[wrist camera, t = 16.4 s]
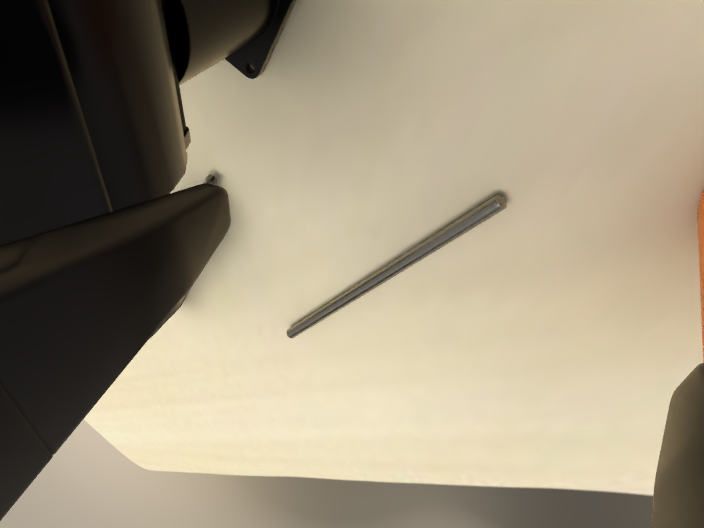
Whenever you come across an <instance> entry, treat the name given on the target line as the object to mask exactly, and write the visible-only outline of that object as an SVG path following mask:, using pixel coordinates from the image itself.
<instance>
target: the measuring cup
mask: <svg viewBox="0 0 704 528" xmlns="http://www.w3.org/2000/svg"><path fill="white" fill-rule="evenodd" d="M698 239H699V265H700V290H701V316H702V342H703V363H704V191H703V193H702V196H701V199H700V201H699V206H698Z"/></svg>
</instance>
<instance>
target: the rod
mask: <svg viewBox="0 0 704 528" xmlns="http://www.w3.org/2000/svg"><path fill="white" fill-rule="evenodd" d="M506 207H507V204H506V201H505V199H504V198H503V197H502V196H501V195H496V196H494V197H493V198H491V199H489V200H488V201H486V202H485V203H483V204H482V205H480V206H478V207H477V208H475V209H474V210H472V211H471V212H469V213H468V214H466V215H465V216H463V217H461V218H460V219H458V220H457V221H455V222H454V223H452V224H451V225H449V226H447V227H446V228H444V229H443V230H441V231H440V232H438V233H437V234H435V235H433V236H432V237H430V238H429V239H427V240H426V241H424V242H423V243H421V244H420V245H418V246H416V247H415V248H413V249H412V250H410V251H409V252H407V253H406V254H404V255H402V256H401V257H399V258H398V259H396V260H395V261H393V262H392V263H390V264H389V265H387V266H385V267H384V268H382V269H381V270H379V271H378V272H376V273H375V274H373V275H371V276H370V277H368V278H367V279H365V280H364V281H362V282H361V283H359V284H358V285H356V286H354V287H353V288H351V289H350V290H348V291H347V292H345V293H344V294H342V295H340V296H339V297H337V298H336V299H334V300H333V301H331V302H330V303H328V304H327V305H325V306H323V307H322V308H320V309H319V310H317V311H316V312H314V313H313V314H311V315H309V316H308V317H306V318H305V319H303V320H302V321H300V322H299V323H297V324H296V325H294V326H292V327H291V328H289V329H288V330H287V336H288V337H289V338H294V337H296V336H297V335H299V334H301V333H302V332H304V331H306V330H307V329H309V328H310V327H312V326H314V325H315V324H317V323H319V322H320V321H322V320H324V319H325V318H327V317H328V316H330V315H332V314H333V313H335V312H337V311H338V310H340V309H342V308H343V307H345V306H346V305H348V304H350V303H351V302H353V301H355V300H356V299H358V298H360V297H361V296H363V295H364V294H366V293H368V292H369V291H371V290H373V289H374V288H376V287H378V286H379V285H381V284H382V283H384V282H386V281H387V280H389V279H391V278H392V277H394V276H396V275H397V274H399V273H400V272H402V271H404V270H405V269H407V268H409V267H410V266H412V265H414V264H415V263H417V262H418V261H420V260H422V259H423V258H425V257H427V256H428V255H430V254H432V253H433V252H435V251H436V250H438V249H440V248H441V247H443V246H445V245H446V244H448V243H450V242H451V241H453V240H454V239H456V238H458V237H459V236H461V235H463V234H464V233H466V232H468V231H469V230H471V229H472V228H474V227H476V226H477V225H479V224H481V223H482V222H484V221H486V220H487V219H489V218H490V217H492V216H494V215H495V214H497V213H498V212H500V211H502V210H503V209H505V208H506Z"/></svg>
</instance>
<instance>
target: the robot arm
mask: <svg viewBox="0 0 704 528" xmlns="http://www.w3.org/2000/svg"><path fill="white" fill-rule="evenodd" d="M295 1H296V0H0V521H1V519H2V518H3V517H4V516H5V515H6V513H7V512H8V511H9V510H10V508H11V507H12V506H13V505H14V504H15V502H16V501H17V500H18V499H19V497H20V496H21V495H22V494H23V493H24V491H25V490H26V489H27V488H28V486H29V485H30V484H31V483H32V482H33V480H34V479H35V478H36V477H37V475H38V474H39V473H40V472H41V471H42V469H43V468H44V467H45V466H46V464H47V463H48V462H49V461H50V460H51V458H52V457H53V455H54V454H55V453H56V452H57V451H58V449H59V448H60V447H61V446H62V444H63V443H64V442H65V441H66V440H67V438H68V437H69V436H70V435H71V433H72V432H73V431H74V430H75V429H76V427H77V426H78V425H79V424H80V422H81V421H82V420H83V419H84V418H85V416H86V415H87V414H88V413H89V411H90V410H91V409H92V408H93V406H94V405H95V404H96V403H97V402H98V400H99V399H100V398H101V397H102V395H103V394H104V393H105V392H106V391H107V389H108V388H109V387H110V386H111V384H112V383H113V382H114V381H115V380H116V378H117V377H118V376H119V375H120V373H121V372H122V371H123V370H124V369H125V367H126V366H127V365H128V364H129V362H130V361H131V360H132V359H133V358H134V356H135V355H136V354H137V353H138V351H139V350H140V349H141V348H142V347H143V345H144V344H145V343H146V342H147V340H148V339H149V338H150V337H151V336H152V334H153V333H154V332H155V331H156V329H157V328H158V327H159V326H160V324H161V323H162V322H163V321H164V320H165V318H166V317H167V316H168V315H169V313H170V312H171V311H172V310H173V309H174V307H175V306H176V305H177V304H178V302H179V301H180V300H181V299H182V298H183V296H184V295H185V294H186V293H187V291H188V290H189V289H190V287H191V286H192V285H193V283H194V282H195V280H196V279H197V278H198V276H199V275H200V273H201V271H202V270H203V268H204V267H205V265H206V264H207V262H208V261H209V259H210V258H211V256H212V254H213V253H214V251H215V250H216V248H217V247H218V245H219V244H220V242H221V240H222V239H223V237H224V236H225V234H226V233H227V231H228V229H229V226H230V221H231V218H230V209H229V201H228V194H227V191H226V190H225V189H224V188H222V187H219V186H217V185H214V184H211V183H204V184H201V185H197V186H194V187H191V188H188V189H184V190H181V191H178V192H174V193H171V194H170V192H171V191H172V190H173V189H174V188H175V186H176V185H177V184H178V182H179V181H180V179H181V178H182V177H183V175H184V174H185V170H186V164H187V152H186V149H187V147H188V145H189V144H190V142H191V139H190V133H189V128H188V127H186V125H185V119H184V113H183V106H182V100H181V94H180V88H179V85H181V84H182V83H184V82H186V81H187V80H189V79H191V78H192V77H194V76H196V75H197V74H199V73H201V72H202V71H204V70H206V69H207V68H209V67H211V66H213V65H214V64H216V63H218V62H219V61H221V60H223V59H224V58H225V59H226V60H227V61H228V62H229V63H231V64H232V65H233V66H234V67H235V68H237V69H238V70H239V71H240V72H241V73H243V74H244V75H245V76H246V77H248V78H251V79H254V78H257V77H258V76H259V75H261V74H262V72H263V71H264V69H265V66H266V64H267V62H268V60H269V58H270V56H271V53H272V51H273V49H274V47H275V45H276V43H277V40H278V38H279V36H280V34H281V32H282V30H283V27H284V25H285V23H286V21H287V19H288V17H289V14H290V12H291V10H292V8H293V6H294V4H295ZM249 63H251V64H252V65H253V66H254V70H253V69H252V68H251V67H250V64H249ZM652 528H704V363H701V364H699V365H698V366H697V367H696V368H695V369H694V370H693V371H692V372H691V373H690V374H689V375H688V376H687V378H686V379H685V380H684V381H683V382H682V383H681V384H680V385H679V386H678V387H677V389H676V390H675V391H674V393H673V395H672V398H671V401H670V406H669V411H668V416H667V421H666V426H665V431H664V436H663V441H662V446H661V451H660V456H659V461H658V467H657V472H656V478H655V485H654V496H653V513H652Z"/></svg>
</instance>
